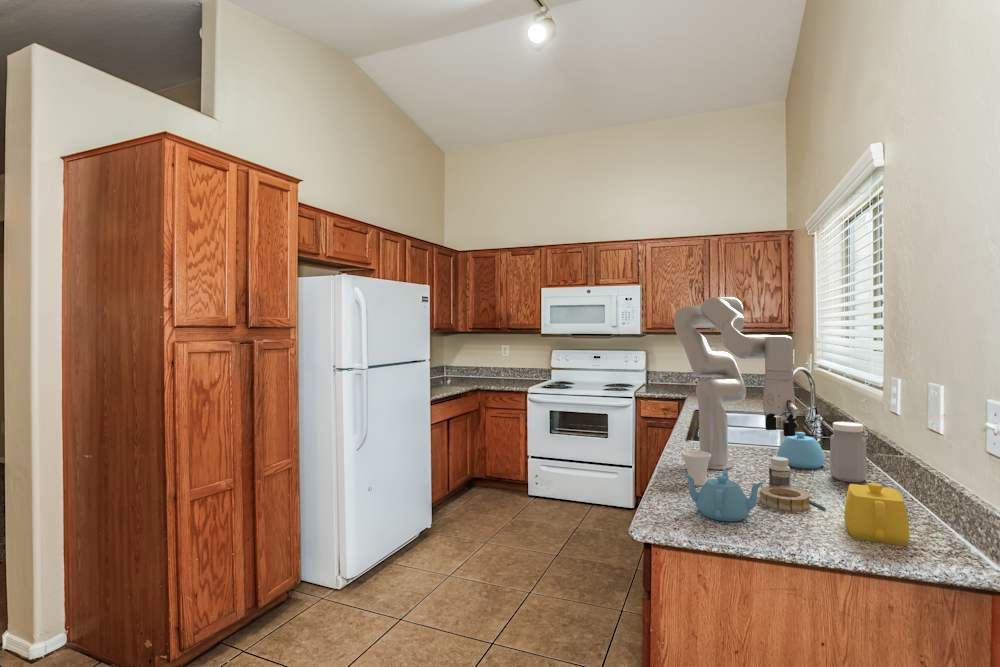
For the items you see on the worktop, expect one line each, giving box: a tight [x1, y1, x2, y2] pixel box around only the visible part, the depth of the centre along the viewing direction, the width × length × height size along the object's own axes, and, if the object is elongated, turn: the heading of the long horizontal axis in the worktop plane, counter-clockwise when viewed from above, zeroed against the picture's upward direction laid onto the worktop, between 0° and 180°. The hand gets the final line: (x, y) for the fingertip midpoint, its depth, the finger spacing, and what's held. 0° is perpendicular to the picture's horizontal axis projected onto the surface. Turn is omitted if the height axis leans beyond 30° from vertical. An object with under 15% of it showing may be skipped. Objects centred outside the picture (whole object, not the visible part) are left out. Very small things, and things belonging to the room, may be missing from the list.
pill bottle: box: [768, 456, 791, 488], centre depth 158 cm, size 6×6×10 cm
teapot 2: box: [843, 482, 910, 547], centre depth 126 cm, size 20×12×12 cm, turn 151°
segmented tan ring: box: [759, 485, 810, 512], centre depth 147 cm, size 12×12×3 cm
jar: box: [829, 421, 868, 483], centre depth 170 cm, size 10×10×18 cm
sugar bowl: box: [776, 431, 826, 470], centre depth 189 cm, size 15×15×12 cm
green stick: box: [809, 499, 827, 511], centre depth 147 cm, size 13×1×1 cm, turn 2°
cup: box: [681, 449, 711, 487], centre depth 166 cm, size 9×9×10 cm
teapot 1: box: [682, 469, 765, 523], centre depth 139 cm, size 15×15×10 cm
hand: (779, 432), depth 158 cm, fingers open, 9 cm apart
